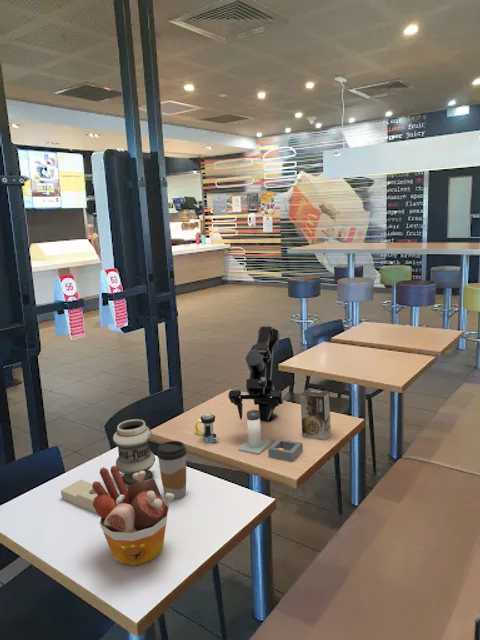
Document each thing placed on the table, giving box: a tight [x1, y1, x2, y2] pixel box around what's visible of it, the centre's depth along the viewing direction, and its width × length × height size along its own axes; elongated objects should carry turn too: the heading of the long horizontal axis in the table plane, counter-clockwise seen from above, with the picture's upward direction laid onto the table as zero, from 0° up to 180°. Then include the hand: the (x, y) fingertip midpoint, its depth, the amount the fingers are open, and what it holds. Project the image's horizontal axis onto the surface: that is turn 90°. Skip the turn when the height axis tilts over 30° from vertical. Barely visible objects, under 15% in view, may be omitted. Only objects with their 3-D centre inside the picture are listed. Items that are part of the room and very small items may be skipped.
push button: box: [199, 412, 219, 444], centre depth 180 cm, size 7×5×10 cm
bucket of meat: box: [92, 465, 174, 566], centre depth 120 cm, size 20×16×20 cm
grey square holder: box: [267, 438, 304, 463], centre depth 168 cm, size 9×9×3 cm
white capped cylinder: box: [246, 409, 262, 448], centre depth 173 cm, size 4×4×12 cm
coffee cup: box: [156, 440, 187, 501], centre depth 145 cm, size 8×8×15 cm
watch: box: [194, 418, 204, 436], centre depth 187 cm, size 6×3×6 cm, turn 67°
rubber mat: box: [237, 439, 273, 456], centre depth 175 cm, size 10×8×1 cm
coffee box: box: [299, 388, 332, 441], centre depth 180 cm, size 9×6×16 cm
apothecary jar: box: [112, 418, 156, 487], centre depth 156 cm, size 12×12×18 cm
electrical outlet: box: [60, 479, 120, 514], centre depth 145 cm, size 7×4×18 cm
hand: (253, 419), depth 173 cm, fingers open, 9 cm apart
